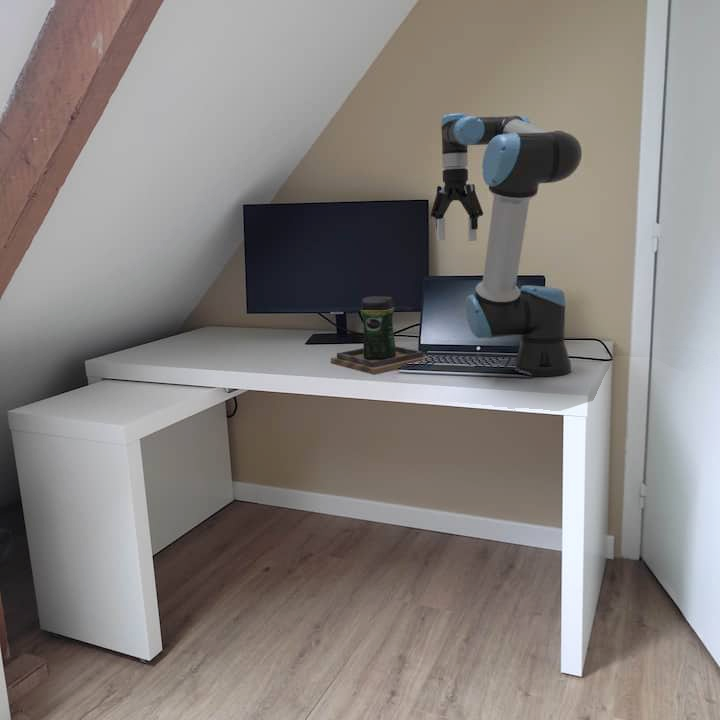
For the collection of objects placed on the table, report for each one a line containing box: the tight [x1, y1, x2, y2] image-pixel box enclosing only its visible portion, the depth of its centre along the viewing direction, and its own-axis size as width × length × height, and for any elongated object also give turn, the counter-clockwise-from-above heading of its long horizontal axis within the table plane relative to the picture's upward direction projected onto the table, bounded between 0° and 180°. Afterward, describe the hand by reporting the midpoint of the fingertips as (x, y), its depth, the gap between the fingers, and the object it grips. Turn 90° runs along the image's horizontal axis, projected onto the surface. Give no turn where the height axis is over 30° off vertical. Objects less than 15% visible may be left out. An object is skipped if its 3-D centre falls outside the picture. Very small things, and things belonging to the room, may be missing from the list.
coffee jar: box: [360, 295, 396, 360], centre depth 219 cm, size 10×8×19 cm
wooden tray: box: [330, 345, 431, 375], centre depth 221 cm, size 22×21×3 cm
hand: (456, 240), depth 223 cm, fingers open, 13 cm apart
